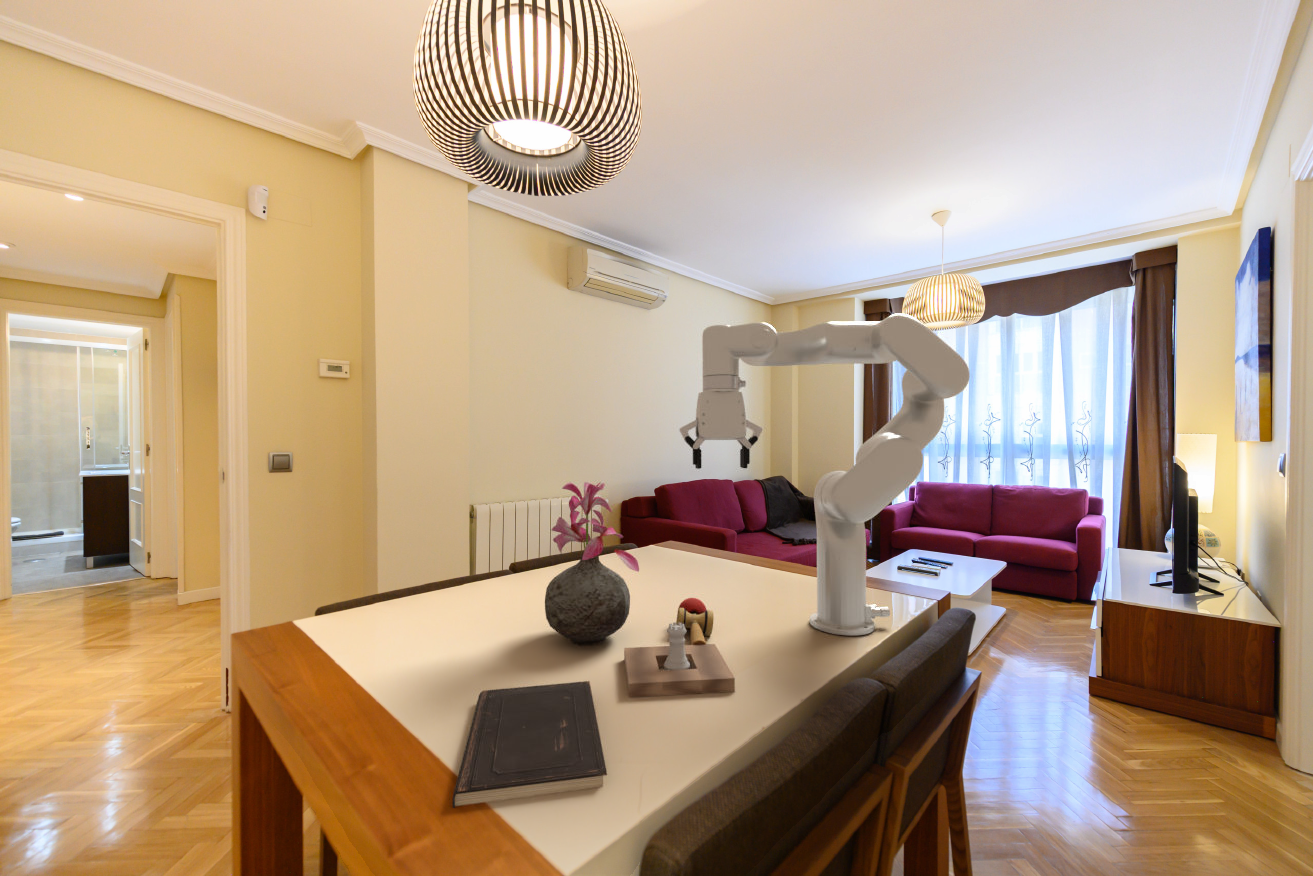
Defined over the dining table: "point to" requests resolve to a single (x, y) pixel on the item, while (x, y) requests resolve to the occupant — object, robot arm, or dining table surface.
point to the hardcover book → (531, 744)
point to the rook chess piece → (676, 648)
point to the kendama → (695, 619)
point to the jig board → (676, 672)
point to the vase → (587, 578)
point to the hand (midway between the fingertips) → (721, 468)
